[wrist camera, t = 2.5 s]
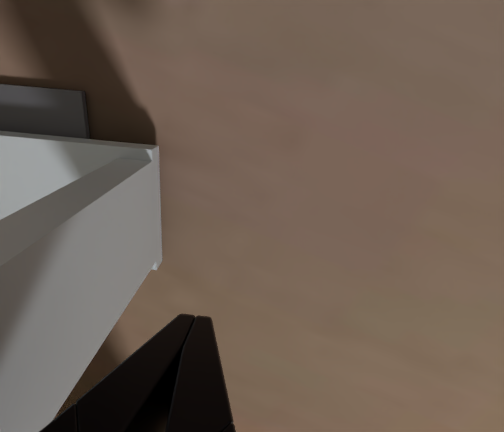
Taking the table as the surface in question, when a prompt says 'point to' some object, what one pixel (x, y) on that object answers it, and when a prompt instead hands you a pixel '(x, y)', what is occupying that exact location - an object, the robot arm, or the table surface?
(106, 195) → the bracket
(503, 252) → the table surface
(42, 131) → the tunnel
